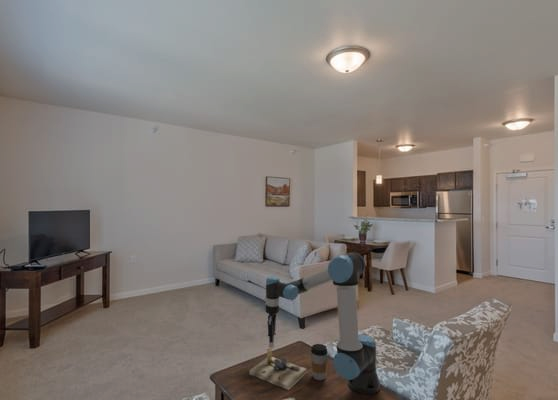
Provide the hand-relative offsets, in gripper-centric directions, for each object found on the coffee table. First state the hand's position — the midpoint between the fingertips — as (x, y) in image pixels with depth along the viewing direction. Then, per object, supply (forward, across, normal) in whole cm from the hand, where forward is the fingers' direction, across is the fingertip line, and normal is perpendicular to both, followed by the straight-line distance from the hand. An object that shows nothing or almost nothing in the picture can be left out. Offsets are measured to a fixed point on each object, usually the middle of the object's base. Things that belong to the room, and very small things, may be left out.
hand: (271, 347), depth 165 cm
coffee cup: (+8, +10, +27) cm, 30 cm away
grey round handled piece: (+5, +9, +6) cm, 12 cm away
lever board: (+8, +11, +6) cm, 15 cm away
